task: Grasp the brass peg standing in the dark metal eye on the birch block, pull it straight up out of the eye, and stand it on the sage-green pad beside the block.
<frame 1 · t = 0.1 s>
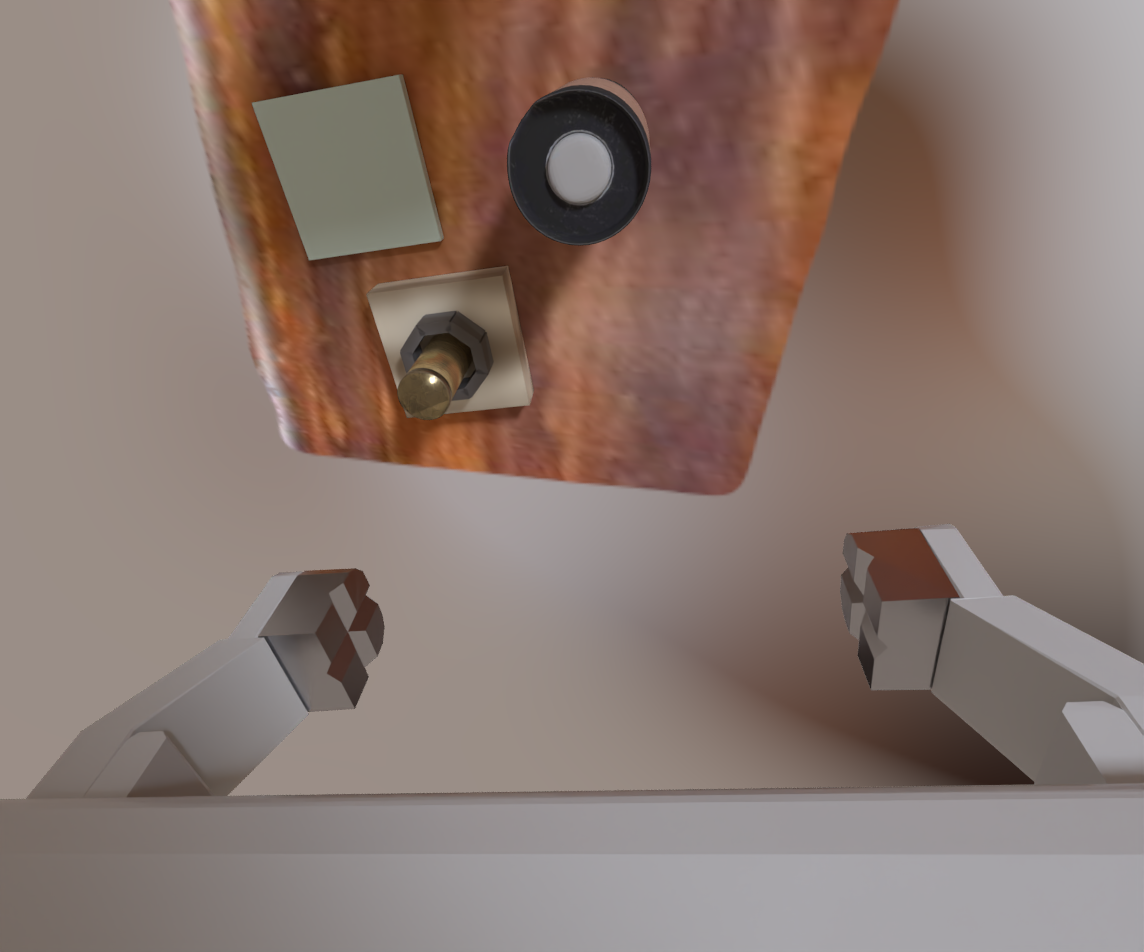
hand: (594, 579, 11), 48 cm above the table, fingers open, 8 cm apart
eye block: (458, 339, 60), on the table
travel mug: (597, 132, 50), on the table
sage pad: (354, 173, 53), on the table
brass peg: (451, 351, 58), point 3 cm above the table, touching eye block
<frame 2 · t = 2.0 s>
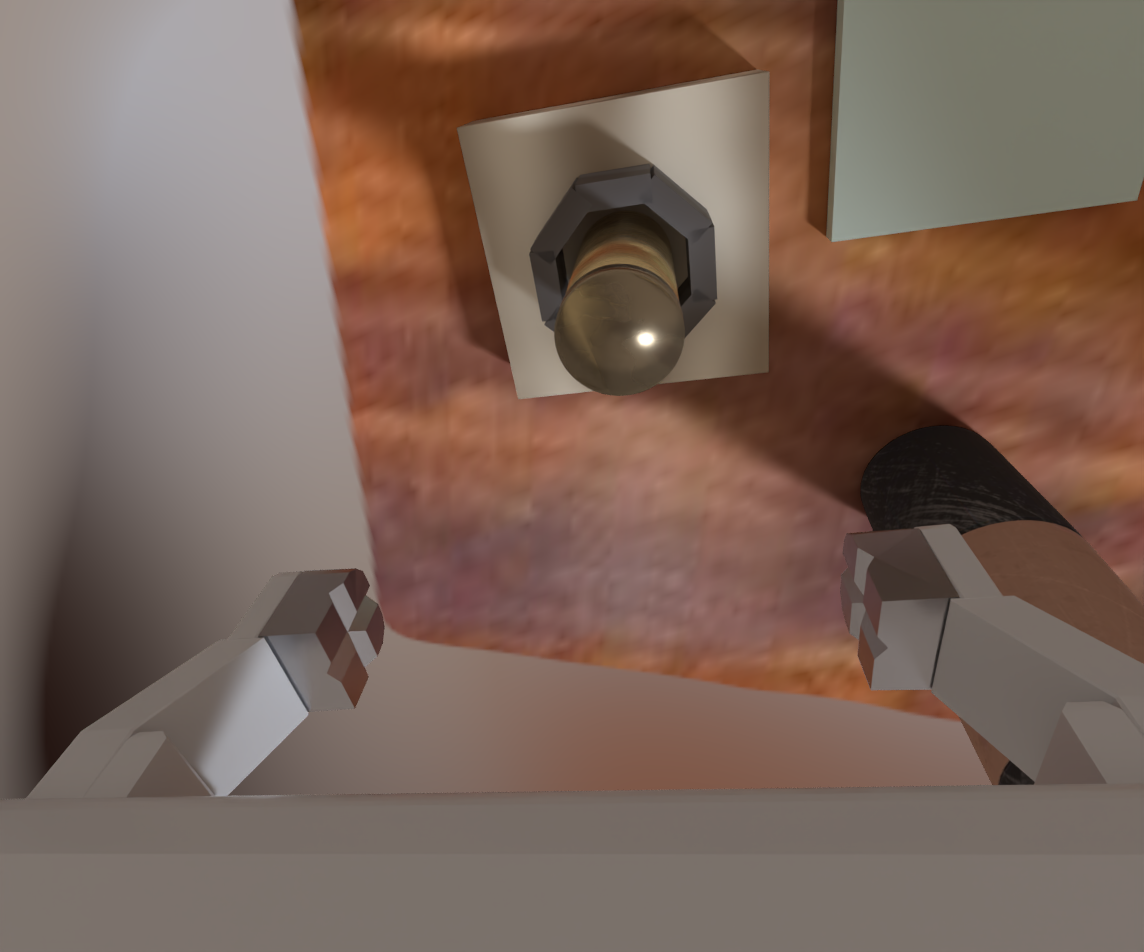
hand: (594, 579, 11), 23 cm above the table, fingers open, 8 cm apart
eye block: (626, 242, 30), on the table
travel mug: (925, 478, 36), on the table
sage pad: (994, 56, 25), on the table
brass peg: (625, 259, 28), point 3 cm above the table, touching eye block
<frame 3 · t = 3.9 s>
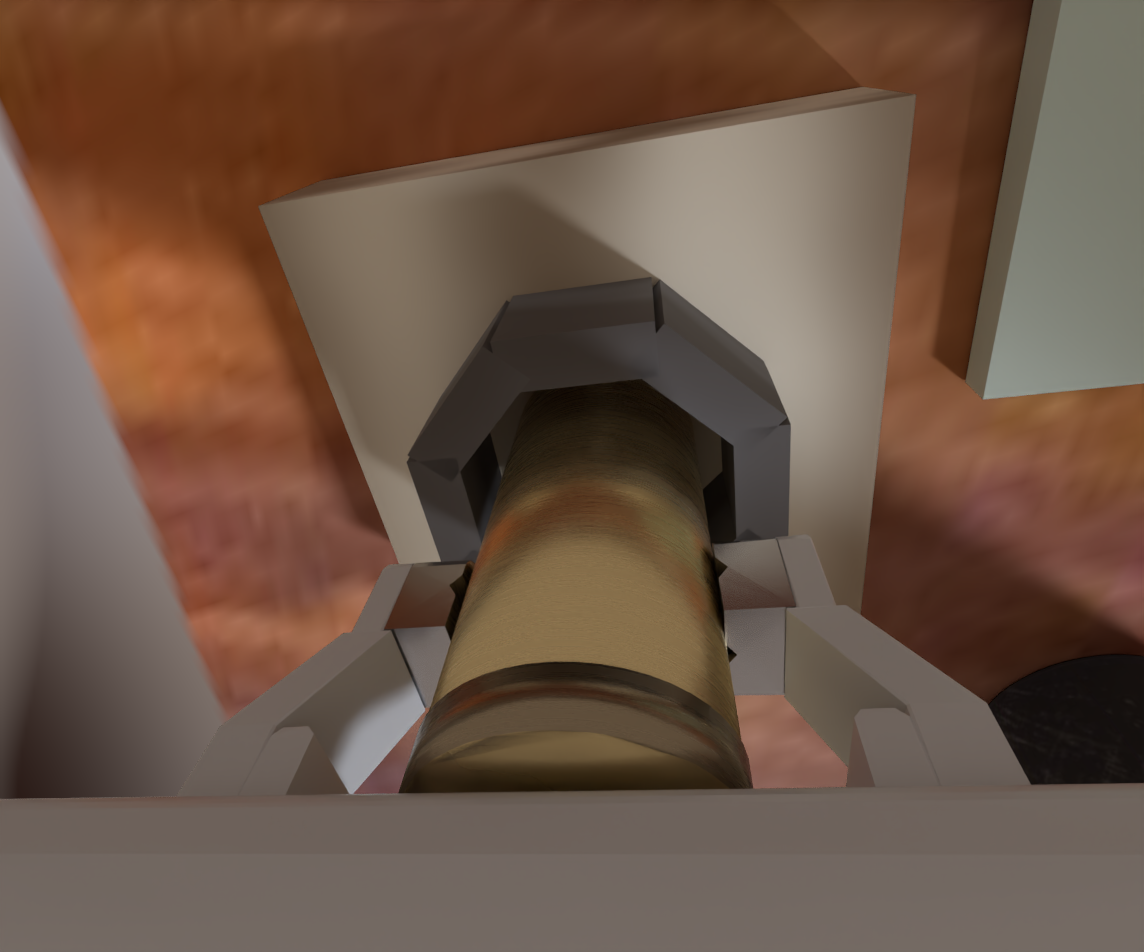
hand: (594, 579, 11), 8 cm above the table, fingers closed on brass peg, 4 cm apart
eye block: (609, 385, 17), on the table
travel mug: (1079, 716, 23), on the table
brass peg: (605, 441, 15), point 3 cm above the table, touching eye block, gripper
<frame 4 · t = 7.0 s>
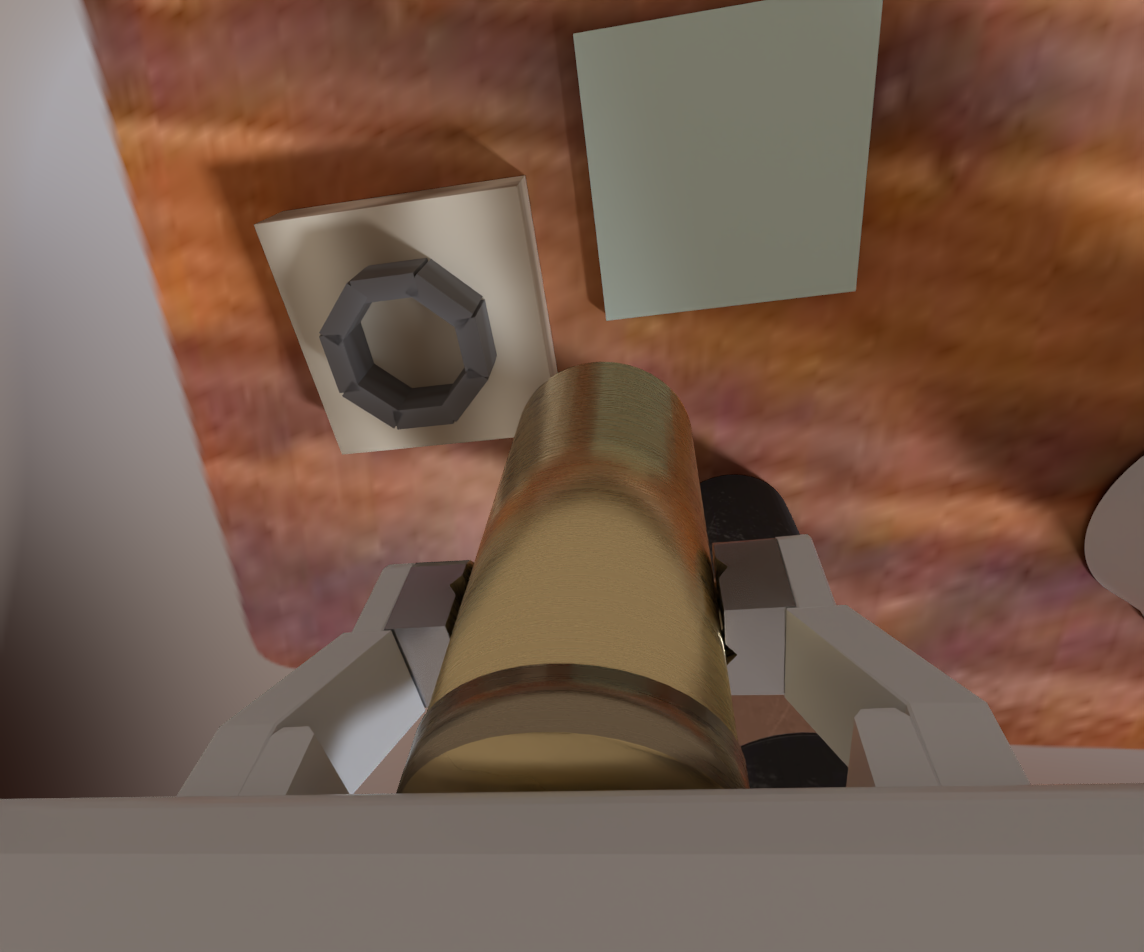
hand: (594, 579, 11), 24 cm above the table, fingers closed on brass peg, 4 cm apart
eye block: (433, 316, 34), on the table
travel mug: (728, 520, 40), on the table
sage pad: (723, 170, 29), on the table
brass peg: (604, 443, 15), point 20 cm above the table, touching gripper
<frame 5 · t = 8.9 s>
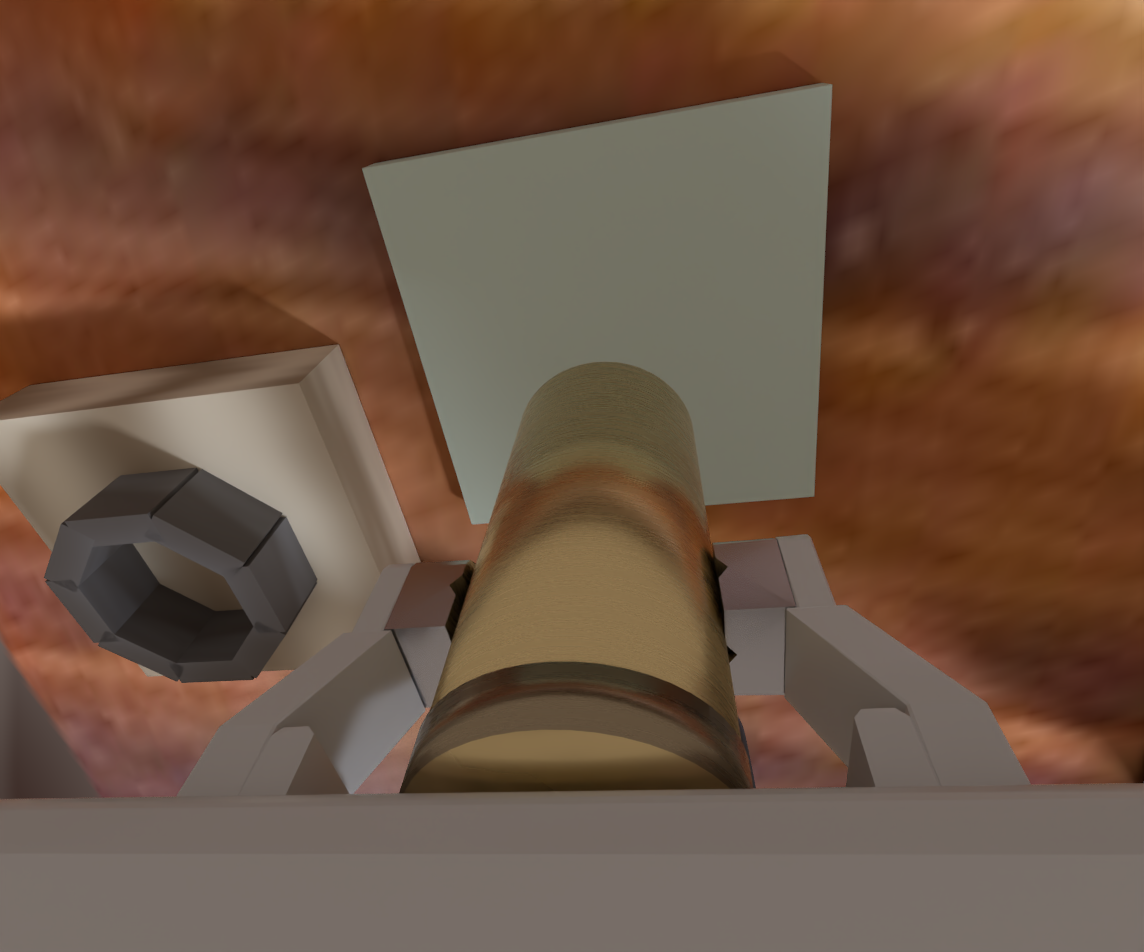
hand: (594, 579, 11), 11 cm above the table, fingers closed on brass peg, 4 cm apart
eye block: (251, 506, 25), on the table
sage pad: (614, 338, 20), on the table
brass peg: (605, 443, 15), point 7 cm above the table, touching gripper
when the fingers open (7 cm above the table, at t = 10.2 s): brass peg stays where it is, resting on sage pad.
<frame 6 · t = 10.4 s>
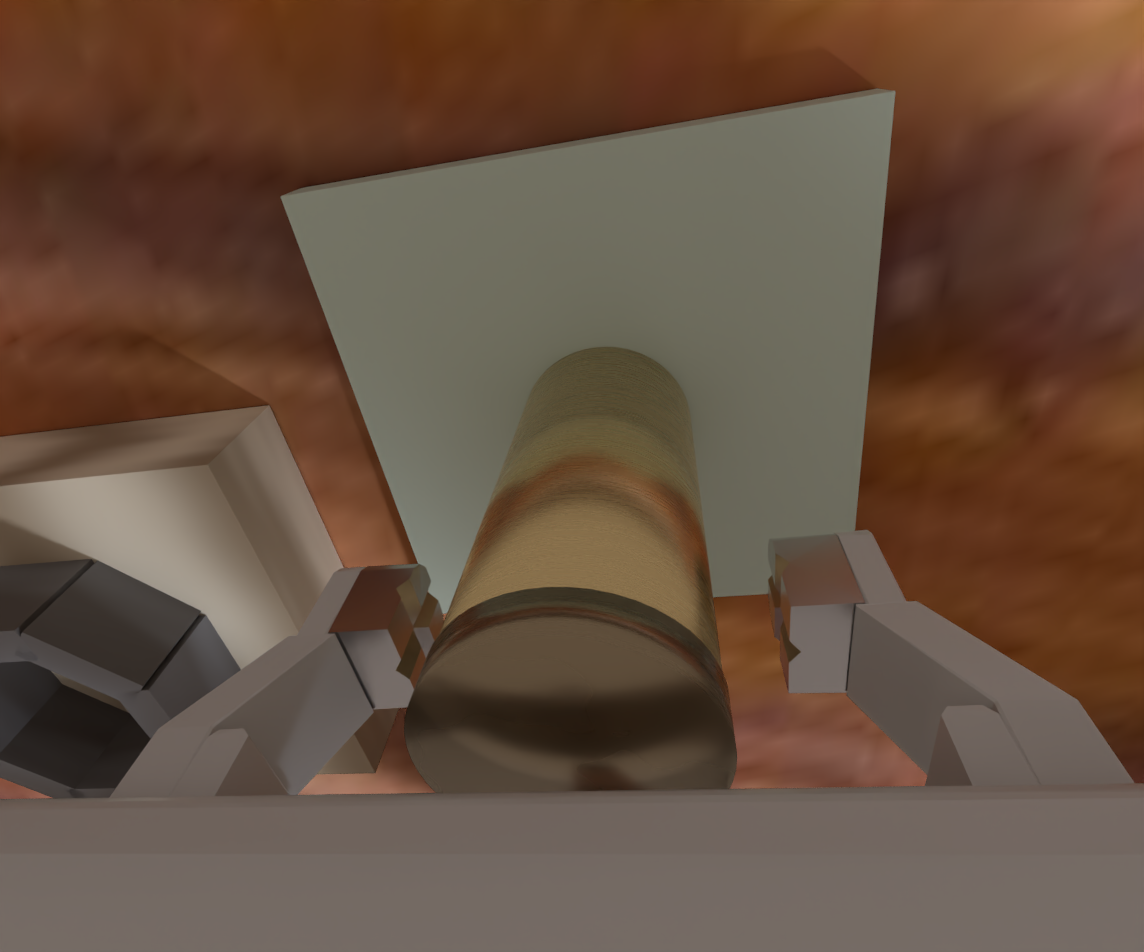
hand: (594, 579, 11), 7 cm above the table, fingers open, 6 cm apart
eye block: (178, 585, 21), on the table
sage pad: (607, 402, 16), on the table
brass peg: (606, 425, 16), point 1 cm above the table, touching sage pad
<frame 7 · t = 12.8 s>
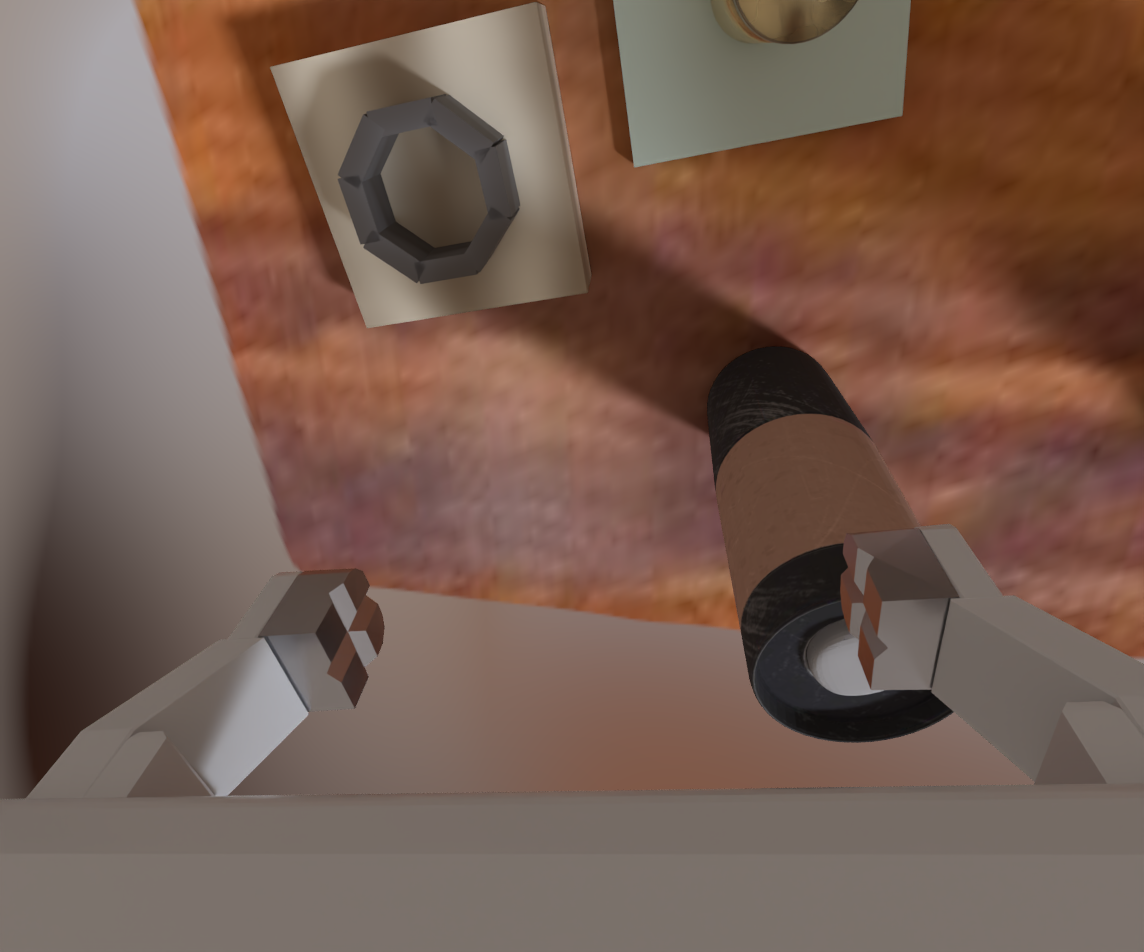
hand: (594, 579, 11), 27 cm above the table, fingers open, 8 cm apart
eye block: (455, 177, 33), on the table
travel mug: (767, 400, 38), on the table
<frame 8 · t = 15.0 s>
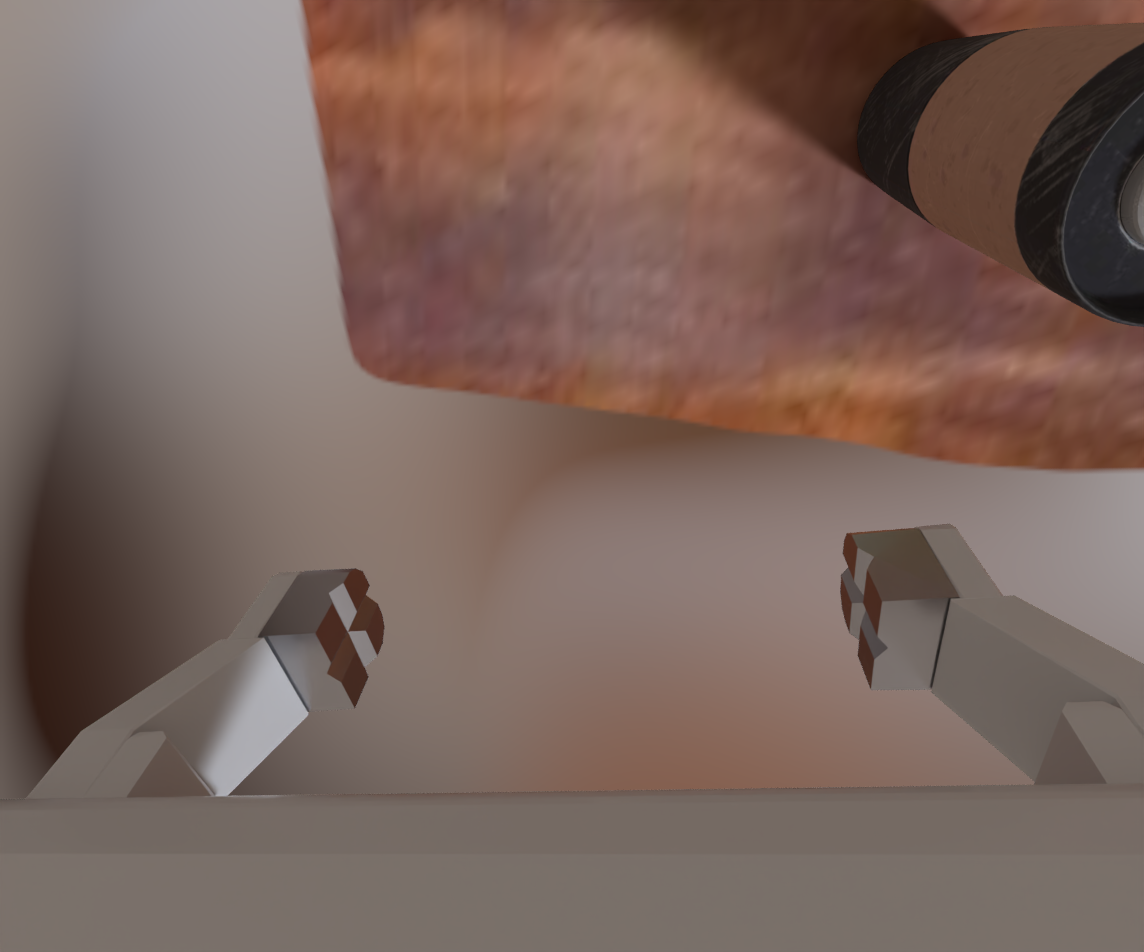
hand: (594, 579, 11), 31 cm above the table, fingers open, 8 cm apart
travel mug: (926, 122, 34), on the table
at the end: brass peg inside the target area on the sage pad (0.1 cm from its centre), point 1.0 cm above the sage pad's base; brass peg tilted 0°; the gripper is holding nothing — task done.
